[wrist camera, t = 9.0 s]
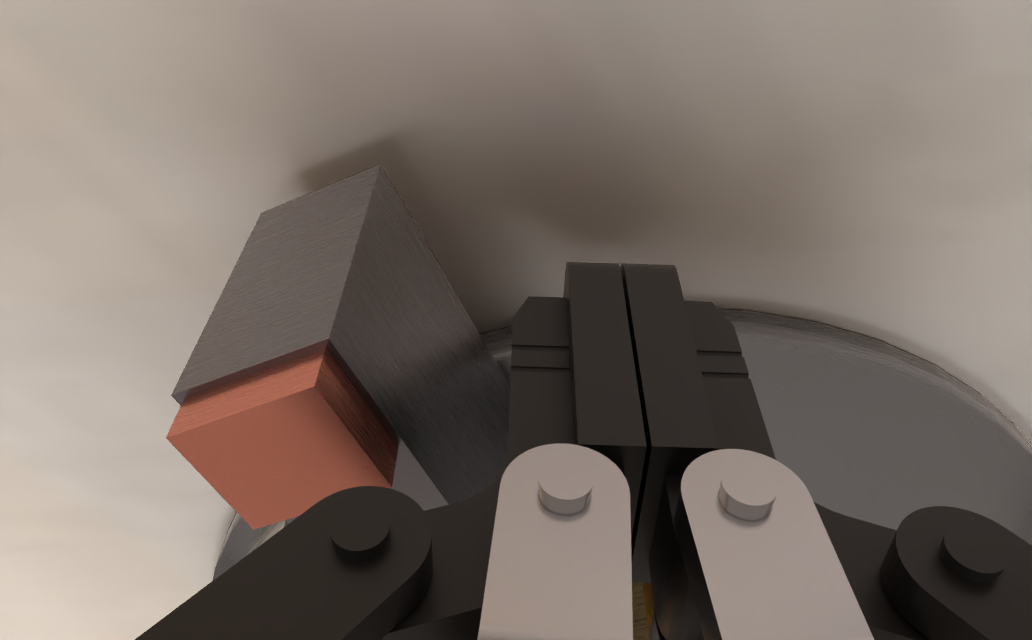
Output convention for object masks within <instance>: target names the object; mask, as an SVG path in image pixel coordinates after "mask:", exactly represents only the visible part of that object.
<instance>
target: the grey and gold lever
mask: <svg viewBox="0 0 1032 640" xmlns="http://www.w3.org/2000/svg"><path fill="white" fill-rule="evenodd" d="M171 396H172V397H173V398H174V399H175V400H176V401H177V402H178V403H179V404H180V406H181V407H180V409H179V411H178V413H177V416H176V418H175V420H174V422H173V424H172V426H171V428H170V430H169V433H168V435H167V437H166V438H167V439H168V440H169V441H170V443H171V444H172V445H173V446H174V447H175V448H176V449H177V450H178V451H179V452H180V453H181V454H182V455H183V456H184V457H185V458H186V459H187V460H188V461H189V462H190V464H191V465H192V466H193V467H194V468H195V469H196V470H197V471H198V472H199V473H200V474H201V475H202V476H203V477H204V478H205V479H206V480H207V481H208V482H209V483H210V484H211V486H212V487H213V488H214V489H215V490H216V491H217V492H218V493H219V494H220V495H221V496H222V497H223V498H224V499H225V500H226V501H227V502H228V503H229V504H230V505H231V507H232V508H233V509H234V510H235V511H236V512H237V513H238V514H239V515H240V516H241V517H242V518H243V519H244V520H245V521H246V522H247V523H248V524H249V525H250V526H251V527H252V529H253V530H254V529H257V528H261V527H264V526H267V525H271V524H274V523H277V522H280V521H284V520H285V521H286V522H287V523H288V524H289V523H291V522H292V521H293V520H295V519H296V518H297V517H299V516H300V515H301V514H302V513H304V512H305V511H306V510H308V509H309V508H310V507H312V506H313V505H314V504H316V503H317V502H319V501H320V500H322V499H323V498H325V497H327V496H329V495H331V494H333V493H335V492H338V491H341V490H345V489H348V488H353V487H359V486H379V487H385V488H390V489H394V490H396V491H399V492H402V493H404V494H405V495H407V496H409V497H410V498H412V499H413V500H414V501H415V502H417V503H418V504H419V505H420V507H421V508H422V509H423V510H424V511H425V510H429V509H433V508H437V507H441V506H446V505H450V504H453V503H457V502H460V501H463V500H466V499H468V498H470V497H472V496H475V495H476V494H478V493H479V492H481V491H483V490H484V489H485V488H487V487H488V486H489V485H490V484H491V483H493V481H494V480H495V479H496V478H497V477H498V476H499V474H500V472H501V471H502V469H503V467H504V465H505V462H506V459H507V453H508V434H509V406H510V385H509V383H508V382H507V380H506V378H505V376H504V375H503V373H502V371H501V370H500V368H499V366H498V364H497V363H496V361H495V359H494V358H493V356H492V354H491V352H490V351H489V349H488V347H487V346H486V344H485V342H484V340H483V339H482V337H481V335H480V334H479V332H478V330H477V328H476V327H475V325H474V323H473V322H472V320H471V318H470V316H469V315H468V313H467V311H466V310H465V308H464V306H463V304H462V303H461V301H460V299H459V298H458V296H457V294H456V292H455V291H454V289H453V287H452V286H451V284H450V282H449V280H448V279H447V277H446V275H445V274H444V272H443V270H442V268H441V267H440V265H439V263H438V262H437V260H436V258H435V257H434V255H433V253H432V251H431V250H430V248H429V246H428V245H427V243H426V241H425V239H424V238H423V236H422V234H421V233H420V231H419V229H418V227H417V226H416V224H415V222H414V221H413V219H412V217H411V215H410V214H409V212H408V210H407V209H406V207H405V205H404V203H403V202H402V200H401V198H400V197H399V195H398V193H397V191H396V190H395V188H394V186H393V185H392V183H391V181H390V179H389V178H388V176H387V174H386V173H385V171H384V169H383V167H382V166H381V164H379V165H377V166H374V167H372V168H369V169H367V170H365V171H362V172H360V173H357V174H355V175H352V176H350V177H348V178H345V179H343V180H340V181H338V182H335V183H333V184H331V185H328V186H326V187H323V188H321V189H318V190H316V191H314V192H311V193H309V194H306V195H304V196H301V197H299V198H297V199H294V200H292V201H289V202H287V203H285V204H282V205H280V206H277V207H275V208H272V209H270V210H268V211H265V212H263V213H261V215H260V217H259V219H258V221H257V223H256V225H255V227H254V229H253V231H252V233H251V235H250V237H249V239H248V241H247V243H246V245H245V247H244V249H243V251H242V253H241V255H240V257H239V259H238V261H237V263H236V265H235V267H234V269H233V271H232V273H231V276H230V278H229V280H228V282H227V284H226V286H225V288H224V290H223V292H222V294H221V296H220V298H219V300H218V302H217V304H216V306H215V308H214V310H213V312H212V314H211V316H210V318H209V320H208V322H207V324H206V326H205V328H204V330H203V332H202V334H201V336H200V338H199V340H198V342H197V344H196V346H195V348H194V350H193V352H192V354H191V356H190V358H189V361H188V363H187V365H186V367H185V369H184V371H183V373H182V375H181V377H180V379H179V381H178V383H177V385H176V387H175V389H174V391H173V393H172V395H171ZM654 609H655V608H654V600H653V592H652V585H651V583H632V614H633V640H650V628H651V624H652V619H653V614H654Z"/></svg>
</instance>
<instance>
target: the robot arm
mask: <svg viewBox="0 0 1032 640" xmlns="http://www.w3.org/2000/svg"><path fill="white" fill-rule="evenodd" d="M632 583H651V585H652V592H653V600H654V608H655V609H654V614H653V619H652V624H651V628H650V640H1032V545H1030V544H1029V543H1027V542H1026V541H1024V540H1023V539H1021V538H1020V537H1018V536H1017V535H1015V534H1014V533H1012V532H1011V531H1009V530H1008V529H1006V528H1005V527H1003V526H1002V525H1000V524H998V523H997V522H995V521H993V520H991V519H989V518H987V517H985V516H983V515H980V514H977V513H974V512H972V511H969V510H965V509H960V508H956V507H948V506H932V507H926V508H922V509H919V510H916V511H914V512H912V513H911V514H909V515H907V516H906V517H905V518H904V519H903V520H902V521H901V523H900V525H899V527H898V529H897V530H894V529H891V528H887V527H884V526H880V525H877V524H873V523H870V522H866V521H863V520H859V519H856V518H852V517H849V516H845V515H843V514H840V513H837V512H834V511H832V510H829V509H827V508H825V507H823V506H821V505H819V504H817V503H816V502H814V501H813V500H812V497H811V495H810V493H809V491H808V490H807V488H806V486H805V485H804V483H803V482H802V481H801V479H800V478H799V477H798V476H797V475H796V474H795V473H794V472H793V471H791V470H790V469H789V468H787V467H786V466H785V465H783V464H782V463H780V462H778V461H777V460H776V458H775V455H774V452H773V448H772V445H771V442H770V439H769V436H768V433H767V429H766V426H765V423H764V420H763V417H762V413H761V410H760V407H759V404H758V401H757V398H756V394H755V391H754V388H753V385H752V382H751V379H749V372H748V369H747V366H746V363H745V359H744V357H742V350H741V347H740V344H739V340H738V337H737V334H736V331H735V328H734V325H733V324H732V323H731V322H730V321H729V320H728V319H727V318H726V317H725V316H724V315H723V314H722V313H721V312H720V311H719V310H718V308H717V307H716V306H715V305H714V304H713V303H712V302H689V301H684V299H683V294H682V290H681V286H680V282H679V278H678V274H677V270H676V268H675V266H674V265H648V264H621V266H620V265H619V264H610V263H579V262H567V264H566V271H565V283H564V296H563V298H557V297H528V298H527V300H526V301H525V302H524V304H523V305H522V306H521V308H520V309H519V311H518V312H517V313H516V315H515V316H514V317H513V322H512V350H511V378H510V406H509V434H508V453H507V459H506V462H505V465H504V467H503V469H502V471H501V472H500V474H499V476H498V477H497V478H496V479H495V480H494V481H493V483H491V484H490V485H489V486H488V487H487V488H485V489H484V490H483V491H481V492H479V493H478V494H476V495H475V496H472V497H470V498H468V499H466V500H463V501H460V502H457V503H453V504H450V505H446V506H441V507H437V508H433V509H429V510H425V511H424V510H423V509H422V508H421V507H420V505H419V504H418V503H417V502H415V501H414V500H413V499H412V498H410V497H409V496H407V495H405V494H404V493H402V492H399V491H396V490H394V489H390V488H385V487H379V486H359V487H353V488H348V489H345V490H341V491H338V492H335V493H333V494H331V495H329V496H327V497H325V498H323V499H322V500H320V501H319V502H317V503H316V504H314V505H313V506H312V507H310V508H309V509H308V510H306V511H305V512H304V513H302V514H301V515H300V516H299V517H297V518H296V519H295V520H293V521H292V522H291V523H289V524H288V525H287V526H285V527H284V528H283V529H281V530H280V531H279V532H277V533H276V534H275V535H273V536H272V537H271V538H269V539H268V540H267V541H265V542H264V543H263V544H261V545H260V546H259V547H257V548H256V549H255V550H253V551H252V552H251V553H249V554H248V555H247V556H245V557H244V558H243V559H241V560H240V561H239V562H237V563H236V564H235V565H233V566H232V567H231V568H229V569H228V570H227V571H225V572H224V573H223V574H221V575H220V576H219V577H217V578H216V579H215V580H213V581H212V582H211V583H210V584H208V585H207V586H206V587H204V588H203V589H202V590H200V591H199V592H198V593H196V594H195V595H194V596H192V597H191V598H190V599H188V600H187V601H186V602H184V603H183V604H182V605H180V606H179V607H178V608H176V609H175V610H174V611H172V612H171V613H170V614H168V615H167V616H166V617H164V618H163V619H162V620H160V621H159V622H158V623H156V624H155V625H154V626H152V627H151V628H150V629H148V630H147V631H146V632H144V633H143V634H142V635H140V636H139V637H138V638H136V639H135V640H633V614H632Z"/></svg>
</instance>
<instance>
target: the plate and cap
mask: <svg viewBox="0 0 1032 640" xmlns="http://www.w3.org/2000/svg"><path fill="white" fill-rule="evenodd" d="M718 310H719V311H720V312H721V313H722V314H723V315H724V316H725V317H726V318H727V319H728V320H729V321H730V322H731V323H732V324H733V325H734V328H735V331H736V334H737V337H738V340H739V344H740V347H741V350H742V357H744V359H745V363H746V366H747V369H748V372H749V379H751V382H752V385H753V388H754V391H755V394H756V398H757V401H758V404H759V407H760V410H761V413H762V417H763V420H764V423H765V426H766V429H767V433H768V436H769V439H770V442H771V445H772V448H773V452H774V455H775V458H776V460H777V461H778V462H780V463H782V464H783V465H785V466H786V467H787V468H789V469H790V470H791V471H793V472H794V473H795V474H796V475H797V476H798V477H799V478H800V479H801V481H802V482H803V483H804V485H805V486H806V488H807V490H808V491H809V493H810V495H811V497H812V500H813V501H814V502H816V503H817V504H819V505H821V506H823V507H825V508H827V509H829V510H832V511H834V512H837V513H840V514H843V515H845V516H849V517H852V518H856V519H859V520H863V521H866V522H870V523H873V524H877V525H880V526H884V527H887V528H891V529H894V530H897V529H898V527H899V525H900V523H901V521H902V520H903V519H904V518H905V517H906V516H907V515H909V514H911V513H912V512H914V511H916V510H919V509H922V508H926V507H932V506H948V507H956V508H960V509H965V510H969V511H972V512H974V513H977V514H980V515H983V516H985V517H987V518H989V519H991V520H993V521H995V522H997V523H998V524H1000V525H1002V526H1003V527H1005V528H1006V529H1008V530H1009V531H1011V532H1012V533H1014V534H1015V535H1017V536H1018V537H1020V538H1021V539H1023V540H1024V541H1026V542H1027V543H1029V544H1030V545H1032V448H1031V447H1030V446H1029V444H1028V443H1027V441H1026V440H1025V439H1024V437H1023V436H1022V435H1021V433H1020V432H1019V430H1018V429H1017V428H1016V426H1015V425H1013V424H1012V423H1011V422H1010V421H1009V420H1008V419H1007V418H1006V417H1005V416H1004V415H1003V414H1002V413H1000V412H999V411H998V410H997V409H996V408H995V407H994V406H993V405H992V404H991V403H990V402H988V401H987V400H986V399H985V398H984V397H983V396H982V395H981V394H980V393H978V392H976V391H975V390H973V389H972V388H970V387H969V386H967V385H966V384H964V383H962V382H961V381H959V380H958V379H956V378H955V377H953V376H951V375H950V374H948V373H947V372H945V371H944V370H942V369H941V368H939V367H937V366H936V365H934V364H932V363H930V362H927V361H925V360H923V359H921V358H918V357H916V356H914V355H912V354H909V353H907V352H905V351H903V350H900V349H898V348H896V347H894V346H891V345H889V344H887V343H885V342H882V341H880V340H877V339H873V338H870V337H867V336H863V335H860V334H856V333H853V332H850V331H846V330H843V329H839V328H836V327H833V326H829V325H826V324H822V323H819V322H815V321H809V320H803V319H797V318H791V317H785V316H779V315H773V314H767V313H761V312H755V311H749V310H733V309H718ZM481 337H482V339H483V340H484V342H485V344H486V346H487V347H488V349H489V351H490V352H491V354H492V356H493V358H494V359H495V361H496V363H497V364H498V366H499V368H500V370H501V371H502V373H503V375H504V376H505V378H506V380H507V382H508V383H509V385H510V378H511V350H512V326H510V327H507V328H503V329H499V330H495V331H492V332H488V333H484V334H481ZM287 525H288V523H287V522H286V521H285V520H284V521H280V522H277V523H274V524H271V525H267V526H264V527H261V528H257V529H254V530H253V529H252V527H251V526H250V525H249V524H248V523H247V522H246V521H245V520H244V519H243V518H242V517H241V516H240V515H239V514H238V513H237V512H236V514H235V516H234V519H233V521H232V523H231V526H230V528H229V530H228V533H227V536H226V539H225V542H224V544H223V547H222V550H221V553H220V556H219V559H218V562H217V565H216V567H215V572H214V577H213V580H215V579H216V578H217V577H219V576H220V575H221V574H223V573H224V572H225V571H227V570H228V569H229V568H231V567H232V566H233V565H235V564H236V563H237V562H239V561H240V560H241V559H243V558H244V557H245V556H247V555H248V554H249V553H251V552H252V551H253V550H255V549H256V548H257V547H259V546H260V545H261V544H263V543H264V542H265V541H267V540H268V539H269V538H271V537H272V536H273V535H275V534H276V533H277V532H279V531H280V530H281V529H283V528H284V527H285V526H287Z"/></svg>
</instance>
